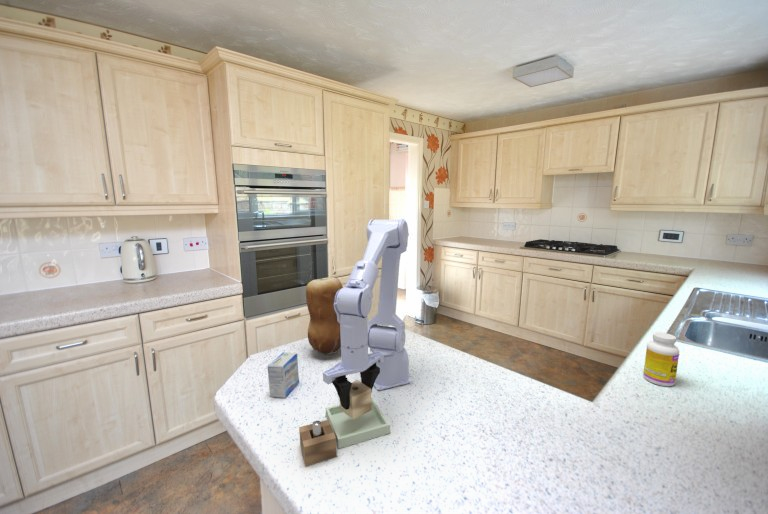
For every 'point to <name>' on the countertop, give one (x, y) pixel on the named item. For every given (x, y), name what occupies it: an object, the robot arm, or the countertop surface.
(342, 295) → the robot arm
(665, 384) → the supplement bottle
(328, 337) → the butternut squash
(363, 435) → the tray
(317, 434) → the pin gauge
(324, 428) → the slotted wooden block
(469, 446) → the countertop surface
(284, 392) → the medicine box
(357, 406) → the block
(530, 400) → the countertop surface
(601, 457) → the countertop surface
